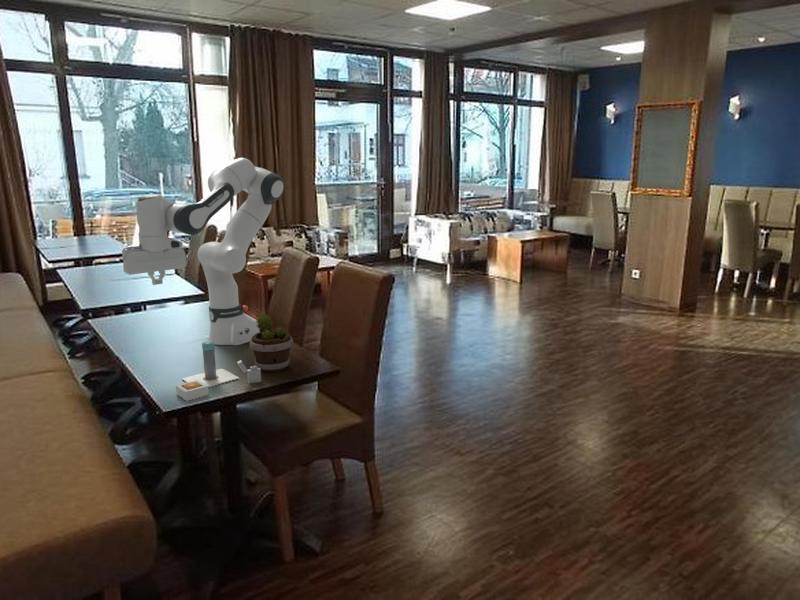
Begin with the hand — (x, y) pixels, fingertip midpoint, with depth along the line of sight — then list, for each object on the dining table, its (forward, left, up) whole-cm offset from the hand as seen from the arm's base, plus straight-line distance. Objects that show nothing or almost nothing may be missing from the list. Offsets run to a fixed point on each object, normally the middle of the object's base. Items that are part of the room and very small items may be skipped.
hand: (157, 284), depth 198 cm
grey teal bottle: (-5, +24, -28) cm, 38 cm away
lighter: (-13, +35, -29) cm, 47 cm away
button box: (+5, +32, -29) cm, 43 cm away
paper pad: (-5, +24, -29) cm, 38 cm away
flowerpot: (-26, +28, -29) cm, 48 cm away
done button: (+5, +32, -28) cm, 43 cm away
